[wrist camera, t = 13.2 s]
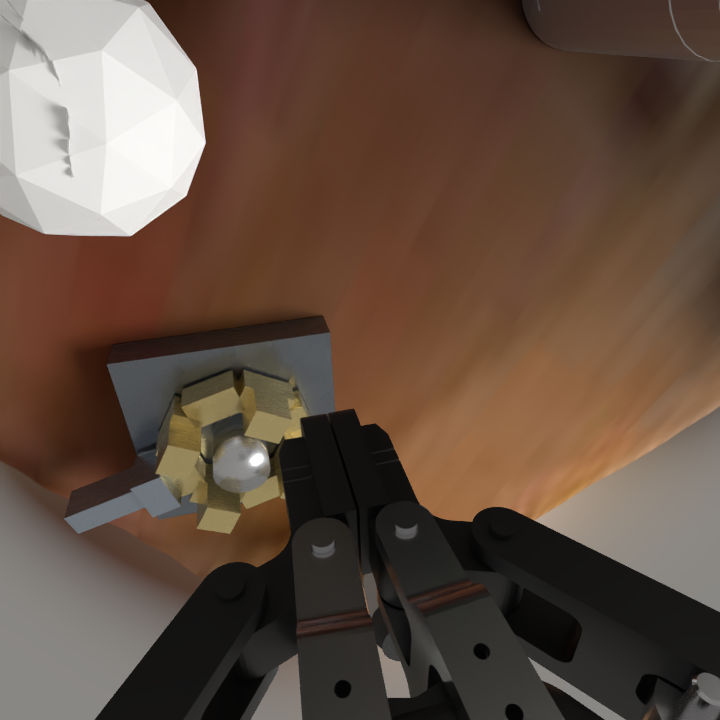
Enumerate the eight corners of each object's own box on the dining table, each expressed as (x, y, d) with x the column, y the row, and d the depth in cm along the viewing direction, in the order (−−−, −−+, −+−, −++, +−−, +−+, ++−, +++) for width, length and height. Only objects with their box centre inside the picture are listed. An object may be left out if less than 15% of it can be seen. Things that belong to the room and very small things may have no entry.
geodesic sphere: (-216, -91, 23) (-208, 155, 19) (91, -190, 24) (166, 25, 19) (14, 142, 37) (49, 314, 32) (204, 75, 37) (263, 236, 33)
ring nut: (280, 351, 43) (289, 387, 38) (328, 456, 50) (340, 496, 45) (33, 446, 42) (13, 495, 38) (118, 539, 49) (109, 589, 45)
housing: (323, 315, 46) (343, 364, 39) (333, 463, 55) (351, 523, 48) (112, 344, 42) (95, 403, 36) (160, 495, 52) (154, 565, 45)
